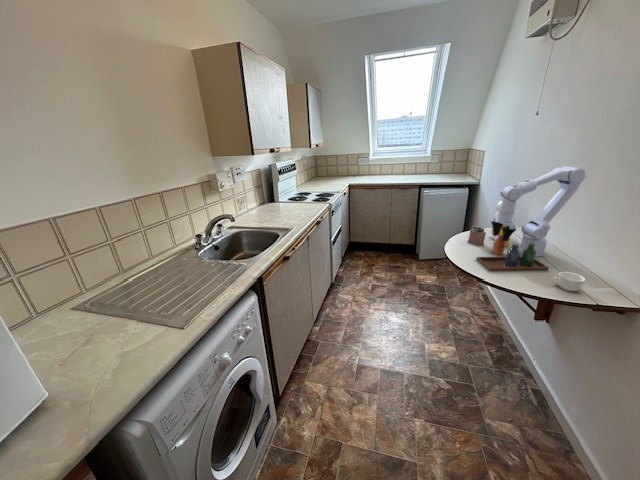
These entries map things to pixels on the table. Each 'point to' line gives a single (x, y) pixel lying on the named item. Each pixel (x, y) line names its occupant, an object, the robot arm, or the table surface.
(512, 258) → the slate-blue bottle
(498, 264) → the tray
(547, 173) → the robot arm
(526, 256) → the green bottle
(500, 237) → the terracotta bottle
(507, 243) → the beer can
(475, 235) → the lighter
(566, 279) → the teacup
